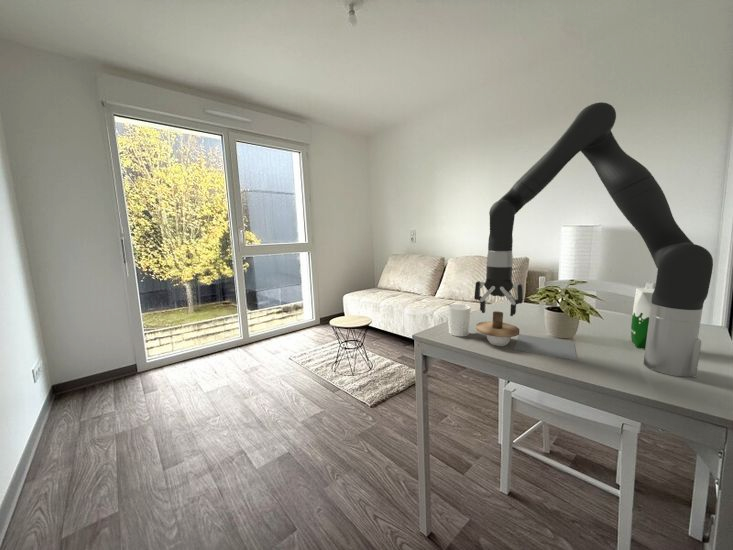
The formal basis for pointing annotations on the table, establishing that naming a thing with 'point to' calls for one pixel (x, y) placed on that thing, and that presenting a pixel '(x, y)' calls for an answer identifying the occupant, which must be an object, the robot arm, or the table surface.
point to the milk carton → (641, 316)
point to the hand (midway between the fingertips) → (497, 314)
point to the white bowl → (498, 340)
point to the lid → (497, 327)
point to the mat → (546, 346)
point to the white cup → (458, 319)
